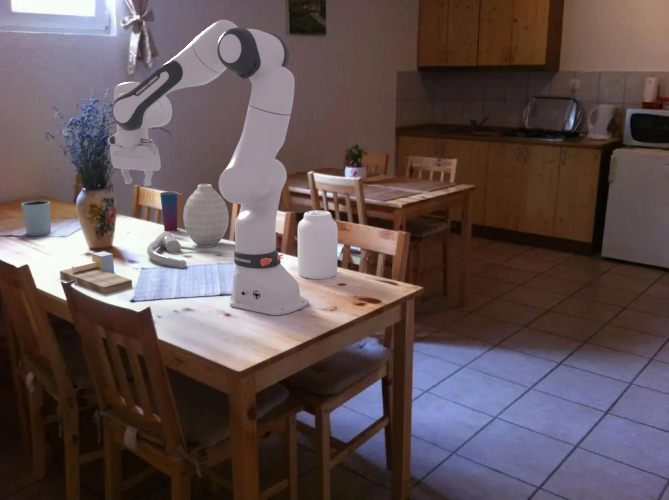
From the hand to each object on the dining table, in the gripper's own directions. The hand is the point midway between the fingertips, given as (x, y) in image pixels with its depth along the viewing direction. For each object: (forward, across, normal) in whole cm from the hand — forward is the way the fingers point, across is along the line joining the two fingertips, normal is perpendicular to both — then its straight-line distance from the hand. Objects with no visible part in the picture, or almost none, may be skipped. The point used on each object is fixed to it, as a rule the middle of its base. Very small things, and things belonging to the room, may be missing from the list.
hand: (138, 184), depth 195 cm
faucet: (+29, +8, -20) cm, 36 cm away
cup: (+27, +42, -42) cm, 66 cm away
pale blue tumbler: (+25, +77, -6) cm, 81 cm away
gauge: (+28, +12, +12) cm, 32 cm away
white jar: (+31, -40, -35) cm, 61 cm away
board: (+28, +5, +15) cm, 32 cm away
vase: (+28, +14, -36) cm, 48 cm away
